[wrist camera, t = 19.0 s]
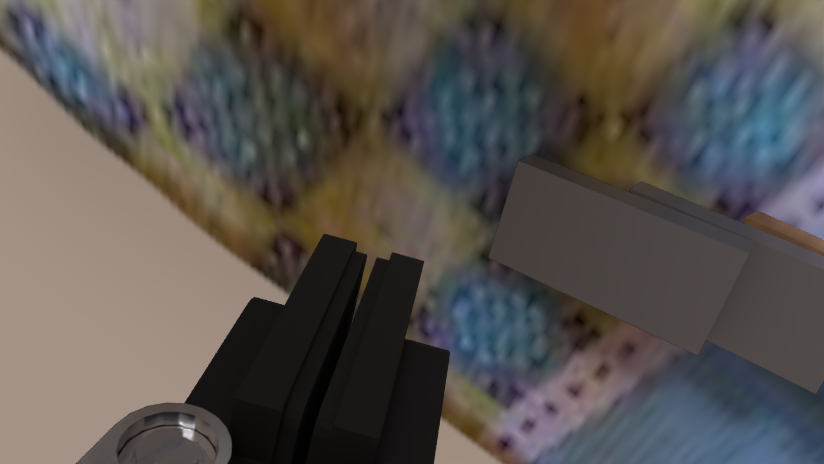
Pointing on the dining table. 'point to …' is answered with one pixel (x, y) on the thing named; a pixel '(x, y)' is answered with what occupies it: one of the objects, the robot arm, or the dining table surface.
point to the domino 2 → (766, 299)
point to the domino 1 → (618, 251)
